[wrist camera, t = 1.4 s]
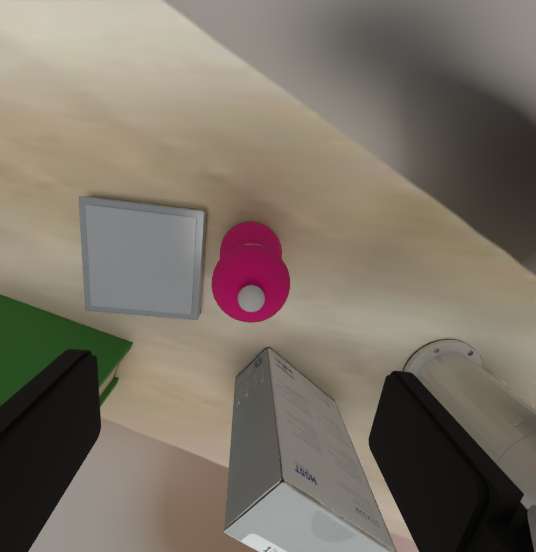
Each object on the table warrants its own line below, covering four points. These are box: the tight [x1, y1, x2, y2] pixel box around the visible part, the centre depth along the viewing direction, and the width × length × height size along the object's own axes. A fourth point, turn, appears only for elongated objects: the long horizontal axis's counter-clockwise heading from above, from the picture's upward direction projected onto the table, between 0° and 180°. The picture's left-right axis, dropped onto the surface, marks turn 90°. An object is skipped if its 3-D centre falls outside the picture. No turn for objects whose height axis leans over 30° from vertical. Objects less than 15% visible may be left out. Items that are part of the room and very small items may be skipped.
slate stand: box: [79, 196, 207, 320], centre depth 35 cm, size 14×14×3 cm
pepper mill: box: [212, 222, 290, 322], centre depth 27 cm, size 7×7×20 cm
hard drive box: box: [224, 348, 397, 552], centre depth 34 cm, size 16×8×20 cm, turn 46°
